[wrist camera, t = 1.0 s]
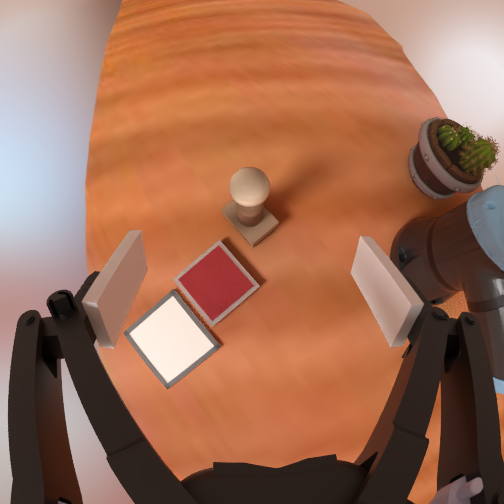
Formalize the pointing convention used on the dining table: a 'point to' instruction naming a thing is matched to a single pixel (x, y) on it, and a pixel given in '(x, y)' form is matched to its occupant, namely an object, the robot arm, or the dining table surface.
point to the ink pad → (216, 283)
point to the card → (171, 339)
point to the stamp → (250, 205)
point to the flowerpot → (449, 159)
